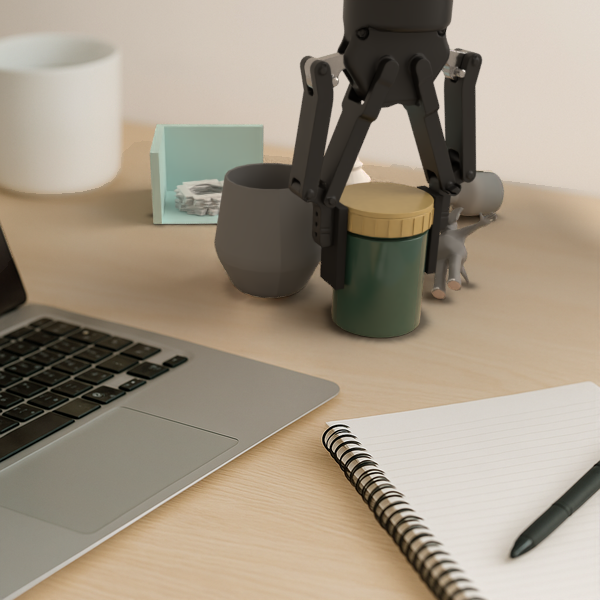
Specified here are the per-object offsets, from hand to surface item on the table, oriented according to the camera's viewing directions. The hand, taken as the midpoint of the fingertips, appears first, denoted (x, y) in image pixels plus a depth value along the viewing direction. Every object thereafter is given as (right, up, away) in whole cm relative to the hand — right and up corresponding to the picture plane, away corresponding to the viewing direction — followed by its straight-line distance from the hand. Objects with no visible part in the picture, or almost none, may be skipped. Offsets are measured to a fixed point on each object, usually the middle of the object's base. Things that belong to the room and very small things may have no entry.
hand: (378, 274), depth 66 cm
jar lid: (0, +5, -3) cm, 6 cm away
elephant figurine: (+7, -1, +9) cm, 11 cm away
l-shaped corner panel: (-16, +8, +26) cm, 32 cm away
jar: (0, -3, +2) cm, 4 cm away
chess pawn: (0, +11, +32) cm, 33 cm away
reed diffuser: (+6, +6, +22) cm, 23 cm away
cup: (-9, -1, +7) cm, 11 cm away
